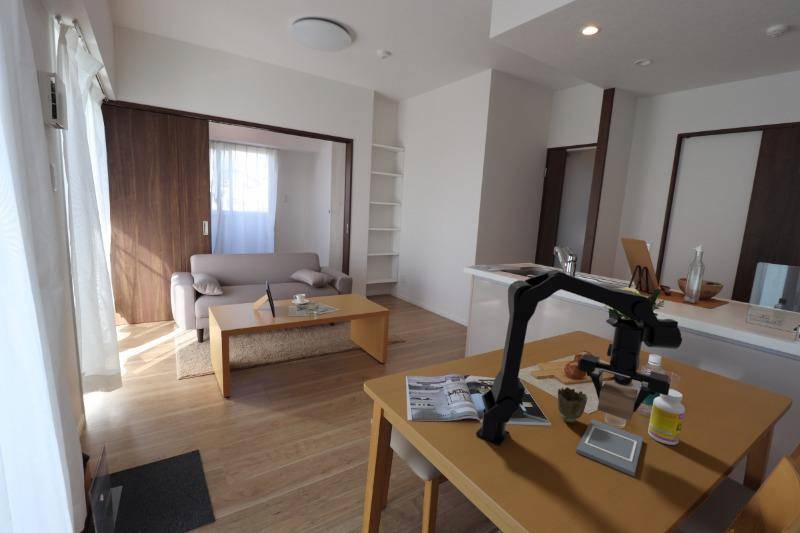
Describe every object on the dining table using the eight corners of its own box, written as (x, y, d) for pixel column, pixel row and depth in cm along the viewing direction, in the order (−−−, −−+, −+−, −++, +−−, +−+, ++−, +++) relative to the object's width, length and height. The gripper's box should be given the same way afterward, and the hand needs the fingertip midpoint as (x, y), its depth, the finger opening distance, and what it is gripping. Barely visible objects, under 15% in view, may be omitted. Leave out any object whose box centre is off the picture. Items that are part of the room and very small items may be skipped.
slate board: (634, 476, 82) (635, 471, 82) (576, 452, 89) (576, 447, 89) (642, 441, 95) (643, 436, 95) (591, 422, 103) (591, 418, 102)
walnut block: (630, 421, 86) (634, 401, 85) (597, 409, 90) (600, 390, 89) (634, 409, 91) (637, 390, 91) (602, 399, 96) (605, 380, 95)
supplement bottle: (677, 449, 93) (686, 402, 91) (645, 437, 97) (654, 392, 95) (679, 438, 98) (688, 392, 96) (649, 427, 102) (657, 383, 100)
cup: (549, 419, 103) (553, 392, 102) (560, 410, 108) (564, 384, 107) (577, 432, 98) (581, 403, 96) (587, 421, 103) (591, 394, 101)
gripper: (676, 346, 89) (665, 407, 91) (590, 327, 100) (583, 381, 102) (674, 360, 80) (662, 426, 83) (581, 337, 91) (572, 396, 94)
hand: (616, 405), depth 91 cm, fingers closed on walnut block, 7 cm apart
